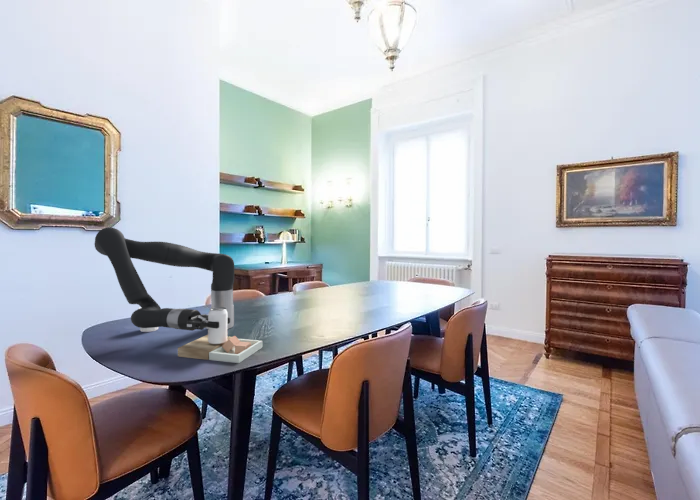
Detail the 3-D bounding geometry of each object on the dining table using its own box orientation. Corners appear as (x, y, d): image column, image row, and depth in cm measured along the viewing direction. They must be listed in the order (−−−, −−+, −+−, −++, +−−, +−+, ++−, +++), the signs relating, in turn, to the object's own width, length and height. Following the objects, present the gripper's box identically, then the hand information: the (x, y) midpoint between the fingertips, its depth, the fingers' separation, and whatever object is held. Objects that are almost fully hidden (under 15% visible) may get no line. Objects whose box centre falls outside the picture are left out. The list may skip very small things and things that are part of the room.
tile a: (233, 348, 123) (228, 342, 124) (240, 341, 122) (235, 335, 123) (227, 352, 119) (221, 346, 120) (234, 345, 119) (228, 339, 119)
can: (231, 340, 124) (231, 307, 123) (218, 345, 118) (218, 311, 117) (216, 337, 126) (217, 305, 126) (203, 342, 120) (204, 309, 119)
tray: (235, 344, 130) (235, 338, 130) (262, 347, 127) (262, 340, 127) (209, 359, 114) (208, 352, 114) (238, 363, 112) (238, 355, 111)
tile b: (250, 342, 122) (250, 350, 122) (240, 341, 123) (240, 349, 123) (245, 346, 118) (245, 354, 118) (234, 345, 119) (234, 353, 119)
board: (207, 342, 133) (207, 334, 132) (235, 344, 130) (235, 337, 130) (177, 356, 117) (177, 347, 117) (208, 359, 114) (208, 351, 114)
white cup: (150, 333, 144) (149, 309, 143) (134, 331, 145) (133, 308, 145) (163, 328, 152) (163, 306, 151) (148, 327, 153) (148, 305, 153)
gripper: (169, 313, 118) (211, 317, 114) (197, 305, 132) (235, 308, 128) (169, 334, 118) (211, 339, 114) (197, 324, 132) (235, 327, 128)
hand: (224, 322), depth 121 cm, fingers closed on can, 6 cm apart
